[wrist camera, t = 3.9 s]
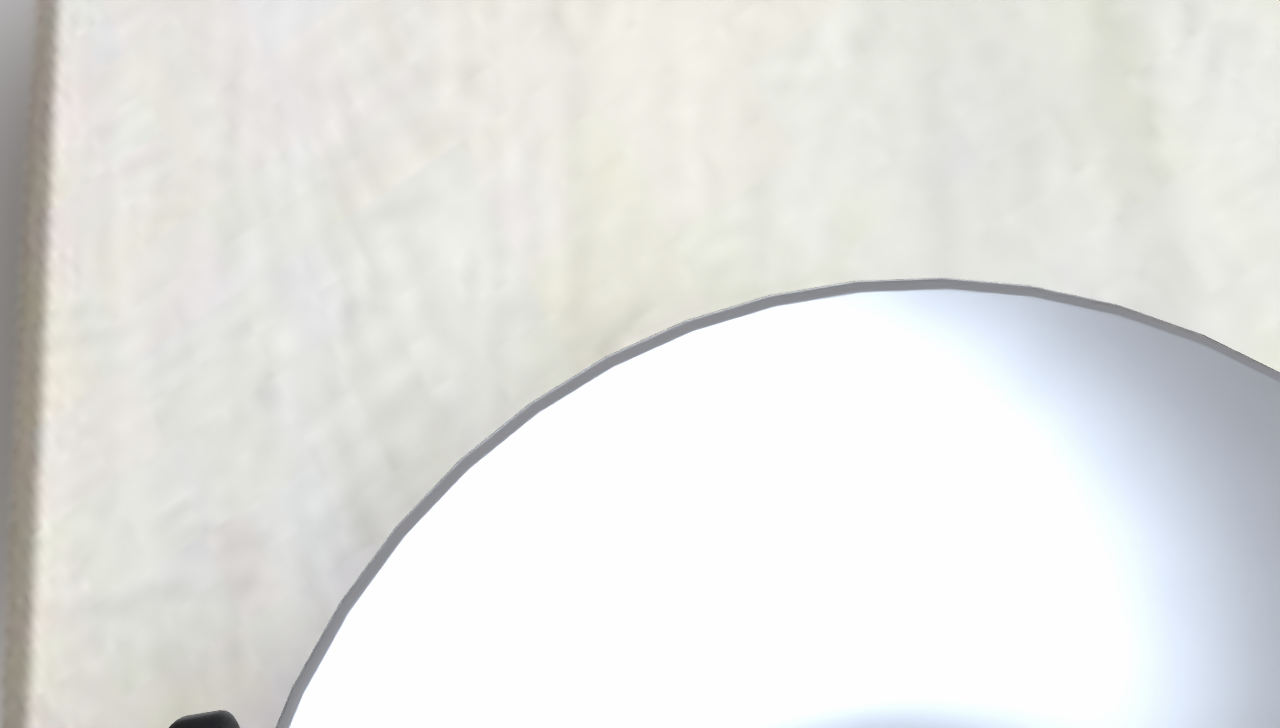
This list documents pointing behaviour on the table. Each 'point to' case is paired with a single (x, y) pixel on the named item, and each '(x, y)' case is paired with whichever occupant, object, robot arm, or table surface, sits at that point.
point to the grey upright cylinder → (844, 532)
